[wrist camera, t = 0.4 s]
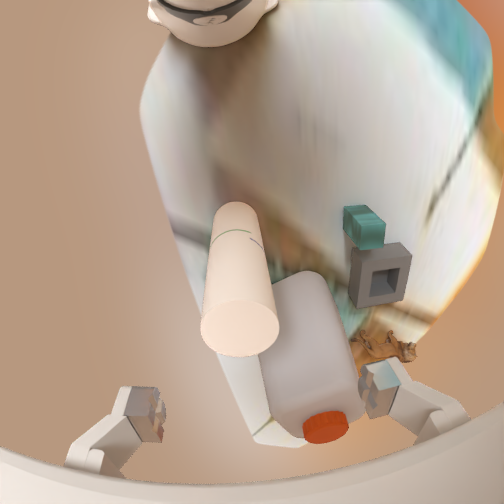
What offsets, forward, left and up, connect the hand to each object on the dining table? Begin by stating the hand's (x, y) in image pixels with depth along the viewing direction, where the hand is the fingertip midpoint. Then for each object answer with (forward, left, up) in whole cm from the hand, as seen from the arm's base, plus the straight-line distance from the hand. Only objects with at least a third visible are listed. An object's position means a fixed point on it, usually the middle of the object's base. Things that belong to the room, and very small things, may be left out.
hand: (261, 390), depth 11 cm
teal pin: (+10, +19, -38) cm, 44 cm away
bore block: (+21, +24, -38) cm, 50 cm away
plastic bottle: (+27, +8, -38) cm, 48 cm away
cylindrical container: (+9, -1, -38) cm, 39 cm away
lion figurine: (+40, +28, -39) cm, 62 cm away
